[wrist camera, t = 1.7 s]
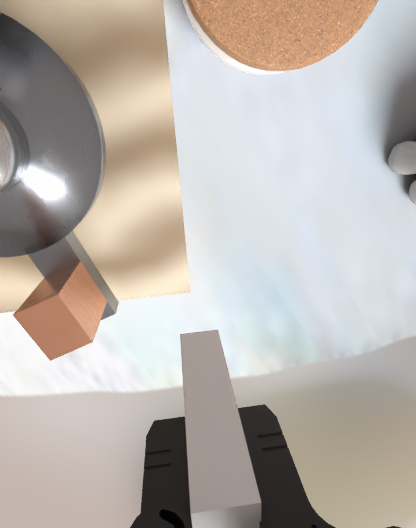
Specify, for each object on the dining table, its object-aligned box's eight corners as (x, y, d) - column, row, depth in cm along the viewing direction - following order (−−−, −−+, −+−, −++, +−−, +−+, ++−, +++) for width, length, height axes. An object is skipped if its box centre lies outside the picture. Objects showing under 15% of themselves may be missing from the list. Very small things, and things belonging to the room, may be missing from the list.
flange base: (-192, -52, 19) (-426, -170, 11) (156, -60, 20) (149, -167, 13) (-43, 309, 28) (-118, 373, 21) (189, 284, 30) (195, 336, 22)
